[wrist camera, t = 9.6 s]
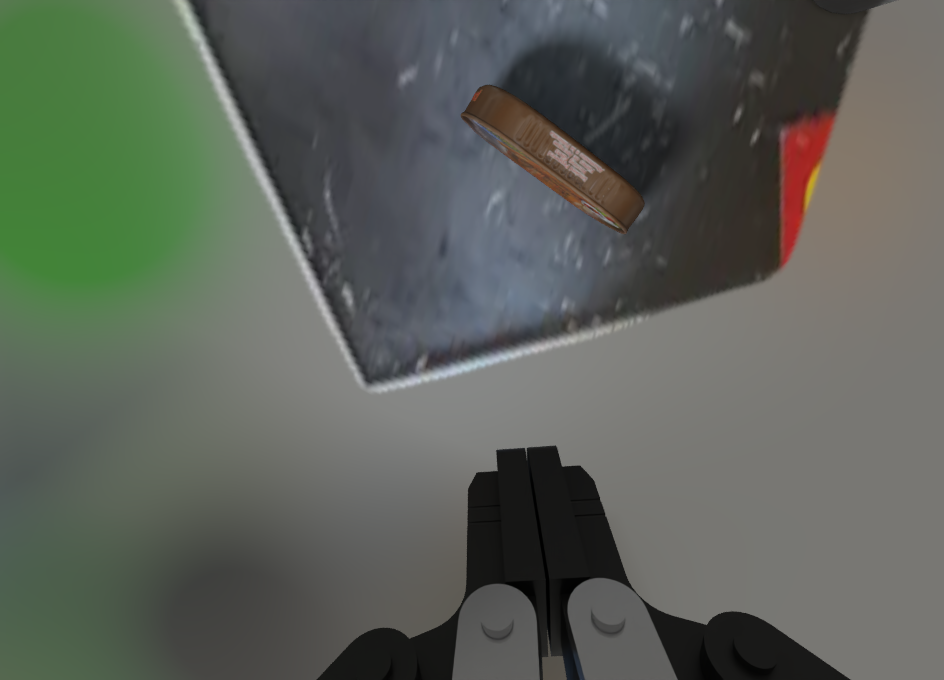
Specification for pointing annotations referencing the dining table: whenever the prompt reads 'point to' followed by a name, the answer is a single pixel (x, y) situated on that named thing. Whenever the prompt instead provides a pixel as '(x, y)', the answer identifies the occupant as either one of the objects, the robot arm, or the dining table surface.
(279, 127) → the dining table surface
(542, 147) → the tin
